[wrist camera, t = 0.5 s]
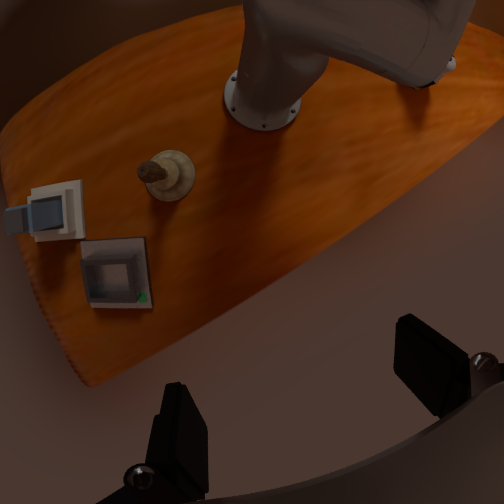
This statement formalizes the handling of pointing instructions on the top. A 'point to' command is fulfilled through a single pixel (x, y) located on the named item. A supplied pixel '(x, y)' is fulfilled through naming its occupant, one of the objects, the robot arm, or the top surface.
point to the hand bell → (168, 175)
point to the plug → (32, 217)
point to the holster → (71, 210)
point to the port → (116, 273)
